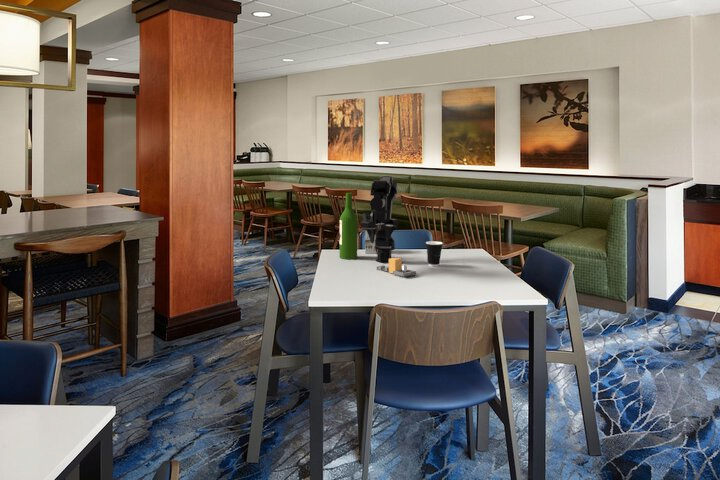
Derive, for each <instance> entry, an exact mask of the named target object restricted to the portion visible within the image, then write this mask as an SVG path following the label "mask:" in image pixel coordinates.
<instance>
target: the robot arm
mask: <svg viewBox="0 0 720 480" xmlns="http://www.w3.org/2000/svg"><path fill="white" fill-rule="evenodd" d="M370 187H371V188H370V196H372V198H371V200H370V202H369V206H370V208H371V209H372V210H371V213H368V212H364V213H362V221H361V222H360V228H362V229H363V230H366V231H367V233H368V235H369V238H370V241H371V243H374V238H375V233H376V229H374V228H375V227H376V226H379V225H380V226H379V227H380V228H379V230H378V231H377V237H376V238H375V248H376V249H378V252H377V253H376V255H377V257H376V259H375V262H379V263H383V264H387V263H389V259H391V258H392V251H393V250H395V248H396V244H395V239H394V237H393V232H394V231H395V229H396V228H397V227H398V226H399V220H398V219H397V218H396V219H395V218H392V212H393V211H392V210H393V209H392V208H393V202H395V200H396V199H397V195H398V194H399V193H398V192H399V188H398V183H397V181H395V180H394V177H393V176H392V175H383V176H381V178H380V179H379V180H378V179H374V180H373V182H371V186H370Z"/></svg>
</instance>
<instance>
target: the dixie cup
mask: <svg viewBox="0 0 720 480" xmlns="http://www.w3.org/2000/svg"><path fill="white" fill-rule="evenodd" d="M425 244H426V254H427V255H426V256H427V264H428V266H429V267H436V266H437V267H439V265H440V262H441V255H442V247H443V244H444V243H443V242H442V241H433V240H431V241H426V242H425ZM437 267H436V268H437Z"/></svg>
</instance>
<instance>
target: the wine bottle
mask: <svg viewBox="0 0 720 480" xmlns="http://www.w3.org/2000/svg"><path fill="white" fill-rule="evenodd" d="M357 216H358V215H356V213H355V211H354V210H353V193H352V192H346V193H345V208H344V210H343V212H342V214H341V215H340V217H339V256H338V257H339V259H341V260H355V259H357V258H358V230H359V229H358V224H359V223H358V217H357Z"/></svg>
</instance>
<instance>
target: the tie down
mask: <svg viewBox="0 0 720 480" xmlns="http://www.w3.org/2000/svg"><path fill="white" fill-rule="evenodd" d="M402 261H403V259H402V258H398V257H391V259H389V262H388V266H386V265H384V264H382V265H378V266H376V270H379V271H383V272H388V273H391V274H393V275H395V274H396V275H401V276H408V275H413V274H414V275H416V274H417V271H416V270H411V269H407V272H406V273H403V272H402V266H403V265H402V264H403V263H402Z"/></svg>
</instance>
